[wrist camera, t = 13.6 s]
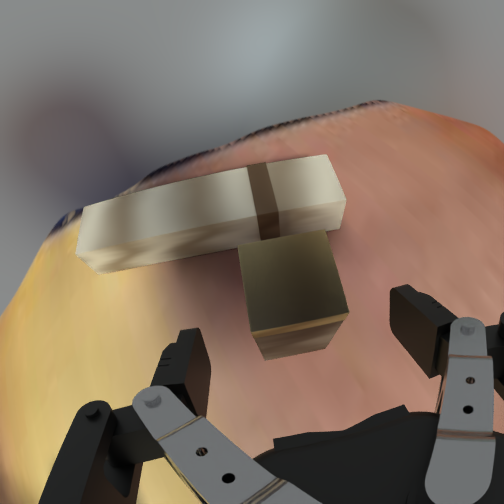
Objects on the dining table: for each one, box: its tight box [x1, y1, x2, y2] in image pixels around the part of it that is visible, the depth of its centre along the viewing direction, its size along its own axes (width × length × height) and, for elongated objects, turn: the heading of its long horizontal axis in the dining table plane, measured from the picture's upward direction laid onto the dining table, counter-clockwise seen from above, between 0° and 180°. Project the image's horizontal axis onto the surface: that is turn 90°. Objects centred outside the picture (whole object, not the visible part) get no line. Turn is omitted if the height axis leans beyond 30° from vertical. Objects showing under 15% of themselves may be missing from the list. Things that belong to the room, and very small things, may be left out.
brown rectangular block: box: [237, 229, 349, 360], centre depth 18 cm, size 4×4×9 cm
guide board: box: [76, 154, 346, 275], centre depth 25 cm, size 22×5×4 cm, turn 99°
